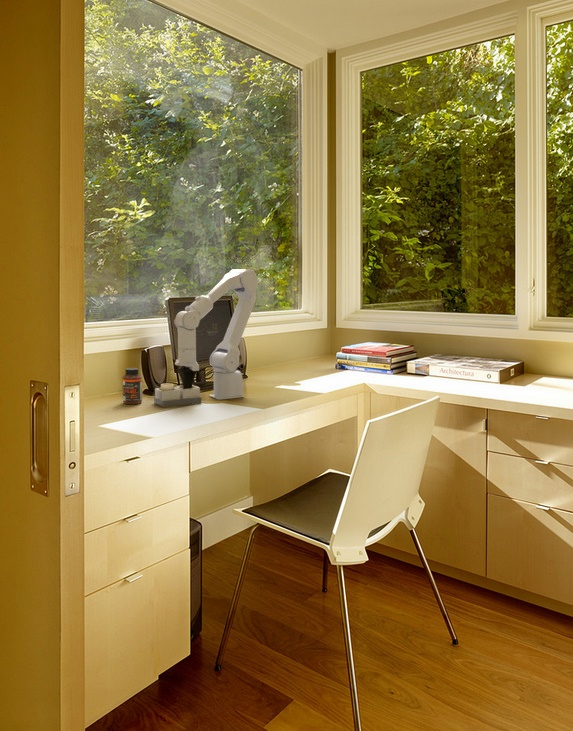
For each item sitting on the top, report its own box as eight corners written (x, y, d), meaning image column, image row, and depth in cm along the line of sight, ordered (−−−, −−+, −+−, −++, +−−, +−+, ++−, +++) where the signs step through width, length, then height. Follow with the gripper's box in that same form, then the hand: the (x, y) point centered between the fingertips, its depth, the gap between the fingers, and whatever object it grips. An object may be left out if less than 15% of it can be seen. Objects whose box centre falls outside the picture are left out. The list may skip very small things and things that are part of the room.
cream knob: (170, 389, 201) (170, 382, 201) (175, 391, 198) (175, 384, 198) (159, 390, 199) (158, 383, 199) (163, 392, 196) (163, 385, 196)
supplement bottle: (123, 405, 197) (122, 370, 196) (122, 401, 203) (121, 367, 201) (142, 404, 199) (141, 369, 197) (141, 400, 205) (140, 366, 203)
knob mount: (191, 399, 208) (191, 384, 207) (201, 403, 201) (201, 388, 201) (154, 403, 201) (153, 387, 200) (163, 407, 194) (162, 392, 194)
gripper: (166, 346, 205) (167, 387, 206) (184, 351, 192) (184, 394, 194) (186, 345, 208) (187, 385, 210) (205, 350, 196) (205, 392, 198)
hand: (187, 389), depth 202 cm, fingers closed, pressing on orange knob
